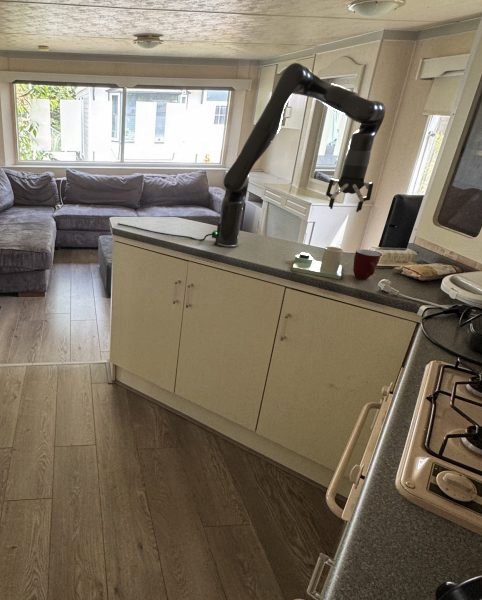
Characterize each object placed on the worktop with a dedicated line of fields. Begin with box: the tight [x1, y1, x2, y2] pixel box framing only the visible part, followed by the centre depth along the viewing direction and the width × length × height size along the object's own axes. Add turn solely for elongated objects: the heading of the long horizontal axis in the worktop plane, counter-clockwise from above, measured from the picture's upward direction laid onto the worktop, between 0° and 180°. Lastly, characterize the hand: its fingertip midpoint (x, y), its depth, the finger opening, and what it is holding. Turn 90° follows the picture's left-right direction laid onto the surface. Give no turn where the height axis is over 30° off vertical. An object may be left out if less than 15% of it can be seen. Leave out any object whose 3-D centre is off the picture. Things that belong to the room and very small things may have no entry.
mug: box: [352, 248, 382, 281], centre depth 158 cm, size 10×8×10 cm
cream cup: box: [320, 246, 344, 272], centre depth 163 cm, size 6×6×8 cm
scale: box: [291, 254, 343, 280], centre depth 168 cm, size 17×14×3 cm
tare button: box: [299, 252, 311, 259], centre depth 172 cm, size 4×4×2 cm
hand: (343, 210), depth 156 cm, fingers open, 8 cm apart
